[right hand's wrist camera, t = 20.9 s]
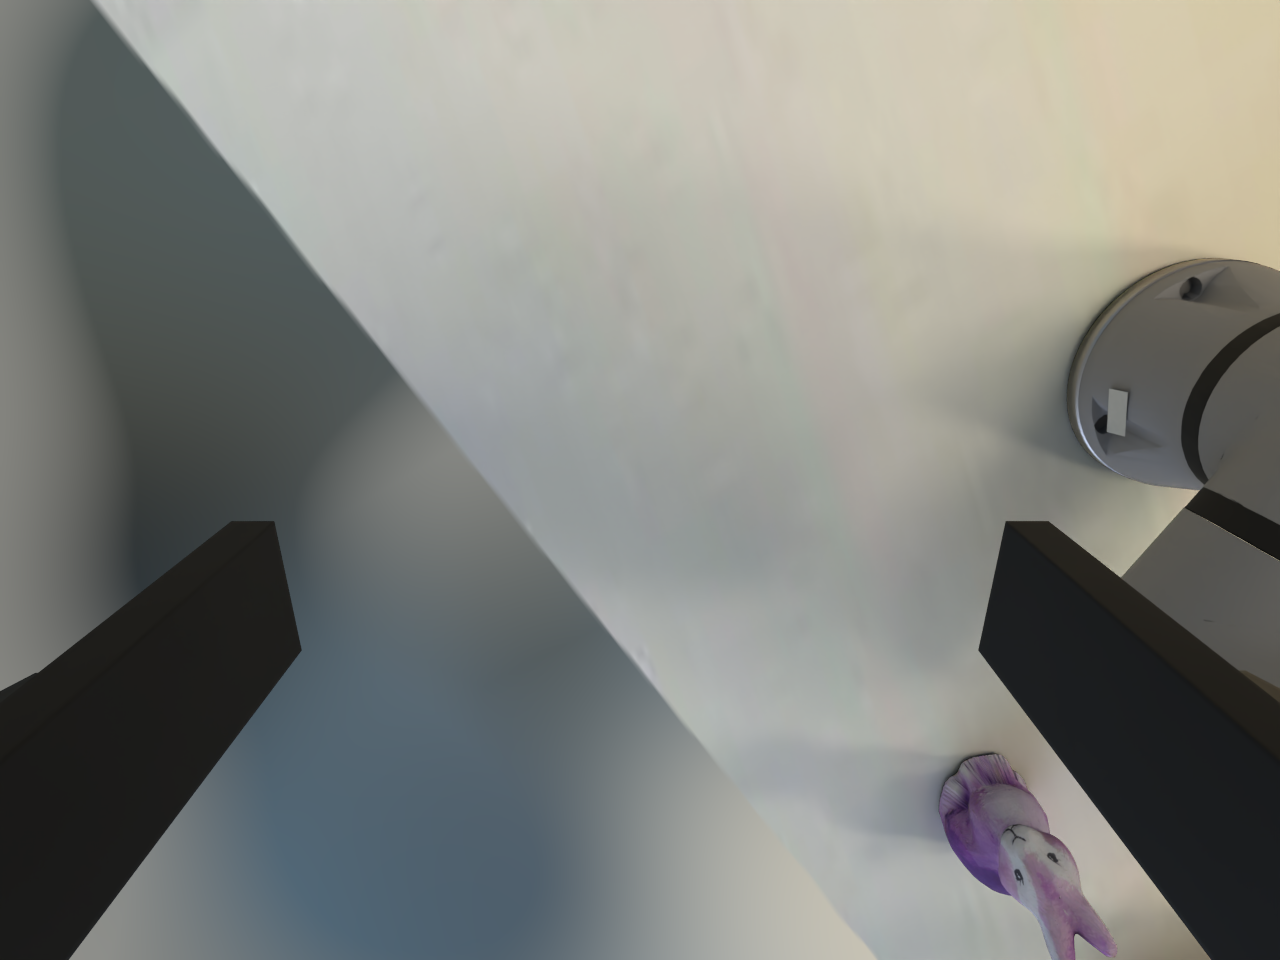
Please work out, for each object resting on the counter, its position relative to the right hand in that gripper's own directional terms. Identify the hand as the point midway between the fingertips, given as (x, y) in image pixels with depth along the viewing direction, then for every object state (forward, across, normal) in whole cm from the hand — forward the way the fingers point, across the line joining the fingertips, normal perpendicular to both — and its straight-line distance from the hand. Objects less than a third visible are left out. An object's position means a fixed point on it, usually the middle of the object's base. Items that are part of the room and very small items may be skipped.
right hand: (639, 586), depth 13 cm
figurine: (+36, -30, +42) cm, 63 cm away
